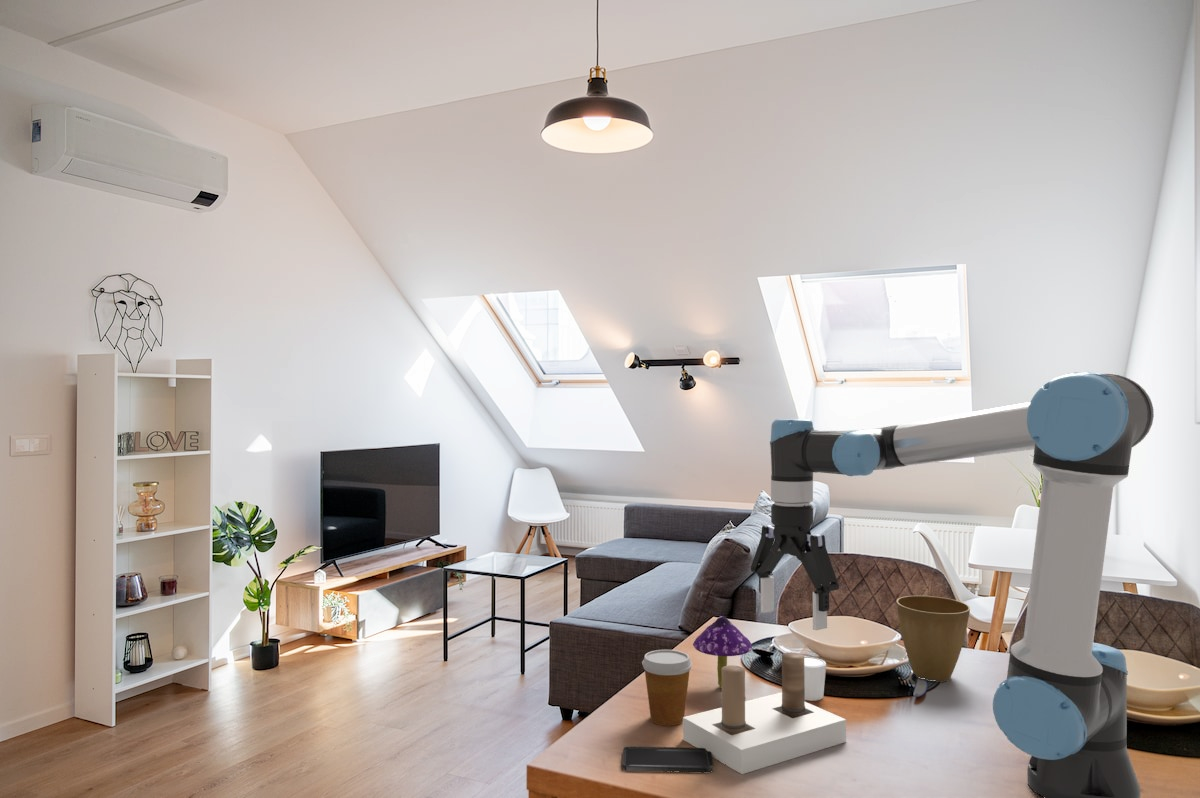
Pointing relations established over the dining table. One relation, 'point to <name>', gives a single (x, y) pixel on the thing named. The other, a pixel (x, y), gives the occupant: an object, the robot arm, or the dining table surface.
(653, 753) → the phone
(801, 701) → the walnut leg
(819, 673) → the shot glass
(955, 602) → the plant pot
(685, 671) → the disposable coffee cup
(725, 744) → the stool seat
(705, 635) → the decorative mushroom
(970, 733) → the dining table surface
